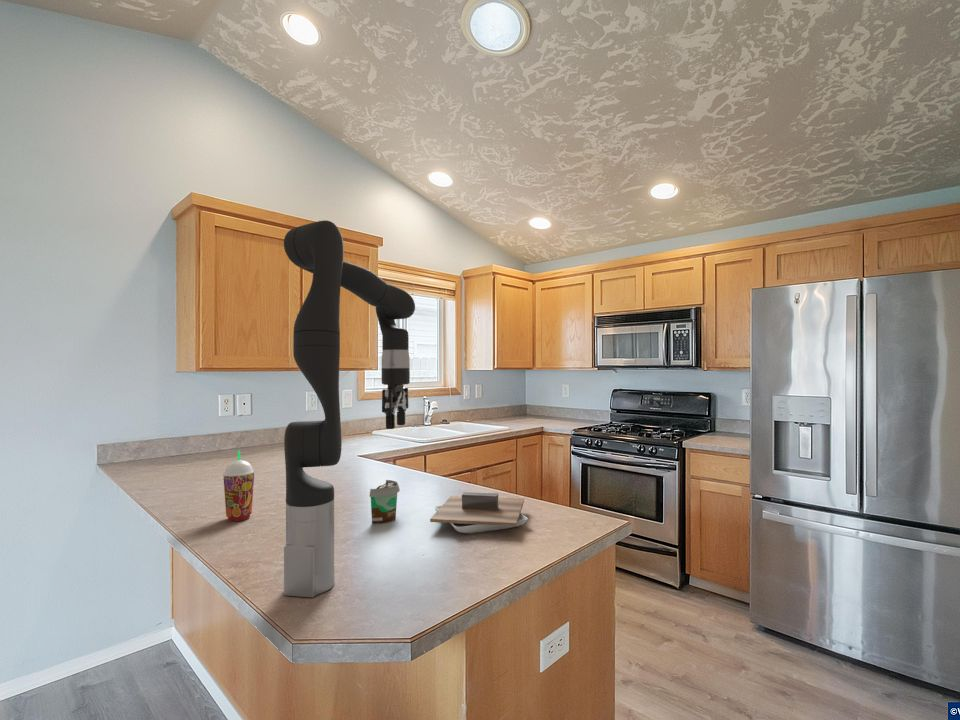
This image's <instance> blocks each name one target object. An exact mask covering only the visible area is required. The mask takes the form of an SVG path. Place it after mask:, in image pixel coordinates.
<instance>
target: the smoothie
mask: <svg viewBox="0 0 960 720" xmlns="http://www.w3.org/2000/svg"><path fill="white" fill-rule="evenodd" d="M255 472H256V471H255V469H254V468H253V466H252V464H251V463H250V462H249V461H247V460H243V459H241V450H237V459H236V460H234V461H232V462H230V463H229V464H228V465H227V466H226V468H225V469H224V472H223V473H222V476H223V490H224V504H225V505H224V506H225V516H226V517H227V520H228V521H229V522H242V521H245V519H246V520H248V519H249V518H250V517H251V514H252V513H253V512H252V511H253V500H254V499H253V498H254V485H255V484H254V482H255ZM241 520H242V521H241Z"/></svg>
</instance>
